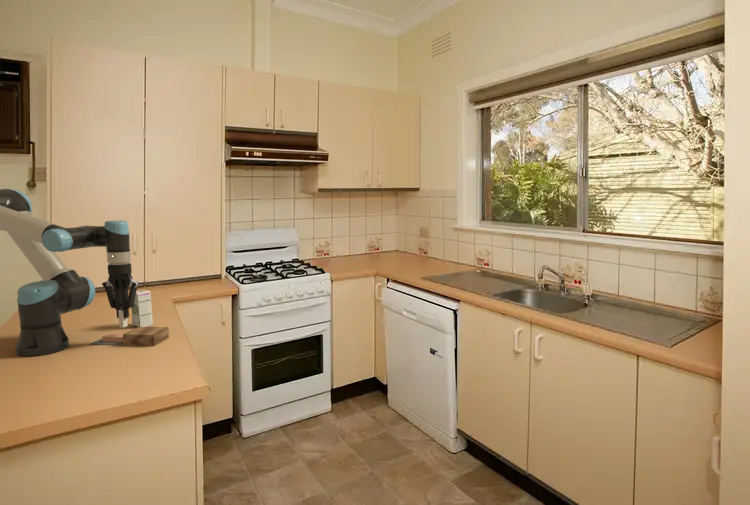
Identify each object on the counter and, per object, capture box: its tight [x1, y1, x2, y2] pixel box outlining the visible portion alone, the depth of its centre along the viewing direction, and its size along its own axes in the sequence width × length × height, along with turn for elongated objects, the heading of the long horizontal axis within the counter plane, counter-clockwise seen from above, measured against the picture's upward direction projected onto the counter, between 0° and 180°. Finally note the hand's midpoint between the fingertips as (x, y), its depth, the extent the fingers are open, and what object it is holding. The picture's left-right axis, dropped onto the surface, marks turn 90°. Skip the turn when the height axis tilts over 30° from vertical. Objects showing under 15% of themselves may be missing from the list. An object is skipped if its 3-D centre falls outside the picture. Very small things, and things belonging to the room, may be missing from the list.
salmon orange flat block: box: [101, 331, 128, 343], centre depth 172 cm, size 9×6×2 cm, turn 86°
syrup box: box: [130, 289, 154, 328], centre depth 192 cm, size 6×6×14 cm
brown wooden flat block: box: [123, 326, 170, 347], centre depth 172 cm, size 12×10×4 cm
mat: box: [89, 337, 125, 346], centre depth 173 cm, size 13×10×1 cm
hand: (123, 326), depth 172 cm, fingers closed
